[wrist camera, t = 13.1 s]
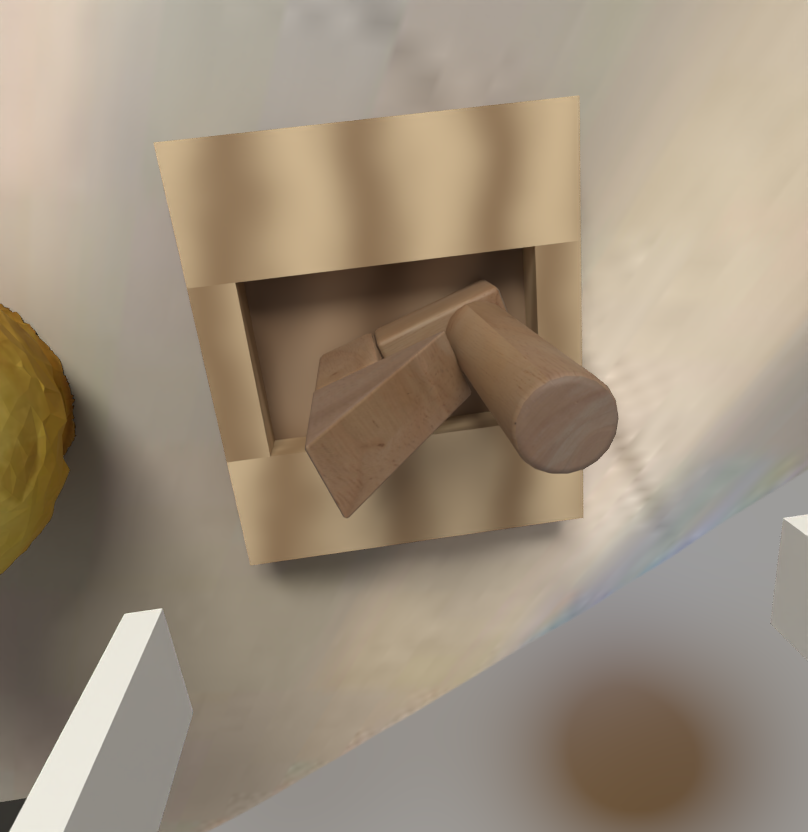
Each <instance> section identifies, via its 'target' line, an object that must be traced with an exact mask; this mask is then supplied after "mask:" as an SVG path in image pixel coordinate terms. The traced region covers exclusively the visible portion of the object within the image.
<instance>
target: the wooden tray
mask: <svg viewBox="0 0 808 832" xmlns="http://www.w3.org/2000/svg"><path fill="white" fill-rule="evenodd" d="M154 147H155V151H156V155H157V160H158V164H159V168H160V173H161V177H162V181H163V186H164V190H165V195H166V199H167V203H168V208H169V212H170V216H171V221H172V225H173V229H174V234H175V238H176V243H177V247H178V251H179V256H180V260H181V264H182V269H183V273H184V277H185V282H186V286H187V290H188V295H189V299H190V304H191V308H192V312H193V317H194V321H195V325H196V330H197V334H198V338H199V343H200V347H201V352H202V356H203V360H204V365H205V369H206V373H207V378H208V382H209V386H210V391H211V395H212V400H213V404H214V408H215V413H216V417H217V421H218V426H219V430H220V434H221V439H222V443H223V447H224V452H225V456H226V461H227V465H228V469H229V474H230V478H231V482H232V487H233V491H234V495H235V500H236V504H237V509H238V513H239V517H240V522H241V526H242V530H243V535H244V539H245V543H246V548H247V552H248V557H249V561H250V565H257V564H264V563H271V562H278V561H285V560H292V559H299V558H306V557H313V556H320V555H327V554H334V553H341V552H348V551H355V550H362V549H368V548H375V547H382V546H389V545H396V544H403V543H410V542H417V541H424V540H431V539H438V538H445V537H452V536H459V535H466V534H473V533H480V532H487V531H494V530H501V529H508V528H515V527H522V526H528V525H535V524H542V523H549V522H556V521H563V520H570V519H577V518H583V470H579V471H576V472H572V473H569V474H551V473H547V472H543V471H540V470H537V469H534V468H533V467H532V466H530V465H529V464H527V463H526V462H525V461H523V460H522V459H521V457H520V456H519V454H518V453H517V451H516V450H515V448H514V447H513V445H512V444H511V442H510V441H509V439H508V438H507V436H506V435H505V433H504V432H503V430H502V429H501V427H500V426H499V424H498V423H497V421H496V420H495V418H494V417H493V415H492V414H491V412H490V411H489V409H488V408H487V406H486V405H485V403H484V402H483V400H482V399H481V397H480V396H479V394H478V393H477V391H476V390H475V388H474V387H473V385H472V384H471V382H470V381H469V379H468V378H467V376H466V375H465V373H464V372H463V374H464V377H465V379H466V381H467V383H468V386H469V388H470V390H471V395H470V396H469V397H468V398H467V399H466V400H465V401H464V402H463V403H462V404H461V405H460V406H459V407H458V408H457V409H456V410H455V411H454V412H453V413H452V414H451V415H450V416H449V417H448V418H447V419H446V420H445V421H444V422H443V423H442V424H441V425H440V426H439V427H438V428H437V429H436V430H435V431H434V432H433V433H432V434H431V435H430V436H429V437H428V439H427V440H426V441H425V442H424V443H423V444H422V445H421V446H420V447H419V448H418V449H417V450H416V451H415V452H414V453H413V454H412V455H411V456H410V457H409V458H408V459H407V460H406V461H405V462H404V463H403V464H402V465H401V466H400V467H399V468H398V469H397V470H396V471H395V472H394V473H393V474H392V475H391V476H390V477H389V478H388V479H387V480H386V481H385V482H384V483H383V484H382V485H381V486H380V487H379V488H378V489H377V490H376V491H375V492H374V493H373V494H372V495H371V496H370V497H369V498H368V499H367V500H366V501H365V502H364V503H363V504H362V505H361V506H360V507H359V508H358V509H357V510H356V511H355V512H354V513H353V514H352V515H351V516H350V517H349V518H344V517H343V515H342V514H341V512H340V510H339V508H338V507H337V505H336V503H335V501H334V500H333V498H332V496H331V494H330V493H329V491H328V489H327V487H326V486H325V484H324V482H323V480H322V479H321V477H320V475H319V473H318V472H317V470H316V468H315V466H314V465H313V463H312V461H311V459H310V458H309V456H308V454H307V452H306V451H305V442H306V435H307V429H308V423H309V416H310V410H311V404H312V398H313V393H314V392H315V386H316V380H317V373H318V367H319V360H320V357H321V356H322V355H323V354H325V353H328V352H330V351H332V350H334V349H336V348H338V347H340V346H342V345H344V344H346V343H349V342H351V341H353V340H355V339H357V338H359V337H361V336H363V335H365V334H371V333H372V334H373V335H374V336H375V331H376V330H377V329H378V328H380V327H382V326H384V325H386V324H389V323H391V322H393V321H395V320H397V319H399V318H401V317H403V316H405V315H407V314H410V313H412V312H414V311H416V310H418V309H420V308H422V307H424V306H426V305H428V304H431V303H433V302H435V301H437V300H439V299H441V298H443V297H445V296H447V295H449V294H452V293H454V292H456V291H458V290H460V289H462V288H464V287H466V286H468V285H470V284H472V283H475V282H477V281H479V280H486V281H487V282H489V283H491V284H492V285H494V286H495V287H497V288H498V289H499V291H500V293H501V296H502V298H503V301H504V303H505V306H506V308H507V311H508V313H509V314H510V315H511V316H513V317H514V318H516V319H517V320H518V321H520V322H521V323H522V324H524V325H525V326H527V327H528V328H529V329H531V330H532V331H533V332H535V333H536V334H538V335H539V336H540V337H542V338H543V339H545V340H546V341H547V342H549V343H550V344H551V345H553V346H554V347H556V348H557V349H558V350H560V351H561V352H563V353H564V354H565V355H567V356H568V357H569V358H571V359H572V360H574V361H575V362H576V363H578V364H579V365H580V366H582V325H581V216H580V106H579V96H571V97H562V98H553V99H544V100H535V101H525V102H516V103H507V104H498V105H489V106H480V107H471V108H462V109H453V110H444V111H435V112H426V113H417V114H408V115H399V116H390V117H381V118H372V119H363V120H354V121H345V122H336V123H327V124H318V125H309V126H300V127H291V128H282V129H273V130H264V131H255V132H245V133H236V134H227V135H218V136H209V137H200V138H191V139H182V140H173V141H164V142H155V143H154Z"/></svg>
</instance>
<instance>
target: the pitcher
mask: <svg viewBox="0 0 808 832" xmlns="http://www.w3.org/2000/svg"><path fill="white" fill-rule="evenodd" d="M49 349H50V347H48V346H47V345H46V344H45V343H44V342H43V341H42V340H40V339H39V336H37V335H36V334H35V330H33V329H32V328H31V326H30V324H27V323H23V321H22V319H21V317H20V315H19V314H18V313H17V312H11V311H10V310H9V308H6V307H3V305H2V304H0V574H2V573H3V572H4V571H5V570H6V569H7V568H8V567H9V566H10V565H11V564H12V563H13V562H14V561H15V560H16V559H17V558H18V557H19V556H20V555H21V554H22V553H24V552H25V551H26V550H27V549H28V547H29V546H30V544H31V543H32V541H33V540H34V539H35V538H36V537H37V536H38V535H39V534H40V533H41V532H42V530H43V529H44V527H45V526H46V524H47V523H48V522H49V521H50V519H51V517H52V515H53V510H54V504H55V501H56V499H57V497H58V495H59V493H60V491H61V489H62V487H63V486H64V484H65V481H66V479H67V476H68V474H69V471H70V470H69V468H68V466H67V464H66V462H65V460H64V459H63V455H65V453H66V452H67V449H68V447H70V446H71V443H72V441H74V437H75V436H76V435H75V430H74V429H75V424H74V422H73V420H72V419H74V416H73V408H74V406H72V404H73V402H74V400H75V399H72V398H73V396H74V395H71V392H70V387H69V386H68V385H69V383H68V382H66V381H67V379H66V376H64V375H63V368H62V365H61V362H60V360H59V358H58V357H57V356H56V355H55V354H53V351H51V350H49Z"/></svg>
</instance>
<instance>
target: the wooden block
mask: <svg viewBox="0 0 808 832" xmlns="http://www.w3.org/2000/svg"><path fill="white" fill-rule="evenodd" d="M463 372H464V373H465V375H466V376H467V378H468V379H469V381H470V382H471V384H472V385H473V387H474V388H475V390H476V391H477V393H478V394H479V396H480V397H481V399H482V400H483V402H484V403H485V405H486V406H487V408H488V409H489V411H490V412H491V414H492V415H493V417H494V418H495V420H496V421H497V423H498V424H499V426H500V427H501V429H502V430H503V432H504V433H505V435H506V436H507V438H508V439H509V441H510V442H511V444H512V445H513V447H514V448H515V450H516V451H517V453H518V454H519V456H520V457H521V459H522V460H523V461H525V462H526V463H527V464H529V465H530V466H532V467H533V468H534V469H537V470H540V471H543V472H547V473H551V474H569V473H572V472H576V471H579V470H583V469H585V468H586V467H588V466H590V465H591V464H593V463H594V462H596V461H598V459H599V458H600V457H601V456H602V455H603V454H604V453H605V452H606V451H607V450H608V449H609V447H610V445H611V443H612V441H613V439H614V437H615V435H616V430H617V424H618V412H617V405H616V400H615V398H614V396H613V395H612V393H611V391H610V389H609V388H608V386H607V385H605V384H604V383H603V382H602V381H601V380H599V379H598V378H597V377H596V376H594V375H593V374H592V373H590V372H589V371H587V370H586V369H585V368H583V367H582V366H580V365H579V364H578V363H576V362H575V361H574V360H572V359H571V358H569V357H568V356H567V355H565V354H564V353H563V352H561V351H560V350H558V349H557V348H556V347H554V346H553V345H551V344H550V343H549V342H547V341H546V340H545V339H543V338H542V337H540V336H539V335H538V334H536V333H535V332H533V331H532V330H531V329H529V328H528V327H527V326H525V325H524V324H522V323H521V322H520V321H518V320H517V319H516V318H514V317H513V316H511V315H510V314H509V313H508V311H507V308H506V306H505V303H504V301H503V298H502V296H501V293H500V291H499V289H498V288H497V287H495V286H494V285H492V284H491V283H489V282H487V281H486V280H479V281H477V282H475V283H472V284H470V285H468V286H466V287H464V288H462V289H460V290H458V291H456V292H454V293H452V294H449V295H447V296H445V297H443V298H441V299H439V300H437V301H435V302H433V303H431V304H428V305H426V306H424V307H422V308H420V309H418V310H416V311H414V312H412V313H410V314H407V315H405V316H403V317H401V318H399V319H397V320H395V321H393V322H391V323H389V324H386V325H384V326H382V327H380V328H378V329H377V330H376V331H375V336H374V335H373V334H372V333H371V334H365V335H363V336H361V337H359V338H357V339H355V340H353V341H351V342H349V343H346V344H344V345H342V346H340V347H338V348H336V349H334V350H332V351H330V352H328V353H325V354H323V355H322V356H321V357H320V360H319V367H318V373H317V380H316V386H315V392H314V393H313V398H312V404H311V410H310V416H309V423H308V429H307V435H306V442H305V451H306V452H307V454H308V456H309V458H310V459H311V461H312V463H313V465H314V466H315V468H316V470H317V472H318V473H319V475H320V477H321V479H322V480H323V482H324V484H325V486H326V487H327V489H328V491H329V493H330V494H331V496H332V498H333V500H334V501H335V503H336V505H337V507H338V508H339V510H340V512H341V514H342V515H343V517H344V518H349V517H350V516H351V515H352V514H353V513H354V512H355V511H356V510H357V509H358V508H359V507H360V506H361V505H362V504H363V503H364V502H365V501H366V500H367V499H368V498H369V497H370V496H371V495H372V494H373V493H374V492H375V491H376V490H377V489H378V488H379V487H380V486H381V485H382V484H383V483H384V482H385V481H386V480H387V479H388V478H389V477H390V476H391V475H392V474H393V473H394V472H395V471H396V470H397V469H398V468H399V467H400V466H401V465H402V464H403V463H404V462H405V461H406V460H407V459H408V458H409V457H410V456H411V455H412V454H413V453H414V452H415V451H416V450H417V449H418V448H419V447H420V446H421V445H422V444H423V443H424V442H425V441H426V440H427V439H428V437H429V436H430V435H431V434H432V433H433V432H434V431H435V430H436V429H437V428H438V427H439V426H440V425H441V424H442V423H443V422H444V421H445V420H446V419H447V418H448V417H449V416H450V415H451V414H452V413H453V412H454V411H455V410H456V409H457V408H458V407H459V406H460V405H461V404H462V403H463V402H464V401H465V400H466V399H467V398H468V397H469V396H470V395H471V390H470V388H469V386H468V383H467V381H466V379H465V377H464V374H463Z"/></svg>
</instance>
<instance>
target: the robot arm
mask: <svg viewBox="0 0 808 832" xmlns="http://www.w3.org/2000/svg"><path fill="white" fill-rule="evenodd" d="M771 625H772V626H774V627H775V629H776V630H778V632H779V633H780V634H781V635H782V636H783V637H784V638H785V639H786V640H787V641H788V642H789V643H790V644H791V645H792V646H793V647H794V648H795V649H796V650H797V651H798V652H799V653H800V654H801V655H802V656H803V657H804V658H805V659H806V660H807V661H808V515H801V516H794V517H787V518H783V522H782V531H781V539H780V547H779V556H778V564H777V573H776V581H775V589H774V598H773V607H772V615H771ZM192 715H193V709H192V706H191V703H190V699H189V696H188V693H187V689H186V686H185V682H184V679H183V676H182V672H181V669H180V666H179V662H178V659H177V655H176V652H175V649H174V645H173V642H172V639H171V635H170V632H169V628H168V625H167V622H166V618H165V615H164V611H163V608H161V609H154V610H147V611H140V612H133V613H127V614H124V616H123V618H122V619H121V621H120V623H119V625H118V627H117V629H116V631H115V633H114V635H113V636H112V638H111V640H110V642H109V644H108V646H107V648H106V650H105V652H104V654H103V655H102V657H101V659H100V661H99V663H98V665H97V667H96V669H95V671H94V672H93V674H92V676H91V678H90V680H89V682H88V684H87V686H86V688H85V689H84V691H83V693H82V695H81V697H80V699H79V701H78V703H77V705H76V706H75V708H74V710H73V712H72V714H71V716H70V718H69V720H68V722H67V723H66V725H65V727H64V729H63V731H62V733H61V735H60V737H59V739H58V741H57V742H56V744H55V746H54V748H53V750H52V752H51V754H50V756H49V758H48V759H47V761H46V763H45V765H44V767H43V769H42V771H41V773H40V775H39V776H38V778H37V780H36V782H35V784H34V786H33V788H32V790H31V792H30V793H29V795H28V797H27V798H25V799H18V800H12V801H6V802H0V832H158V830H159V826H160V823H161V820H162V816H163V813H164V810H165V806H166V803H167V799H168V796H169V793H170V789H171V786H172V782H173V779H174V776H175V772H176V769H177V766H178V762H179V759H180V755H181V752H182V749H183V745H184V742H185V738H186V735H187V732H188V728H189V725H190V721H191V718H192Z"/></svg>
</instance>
